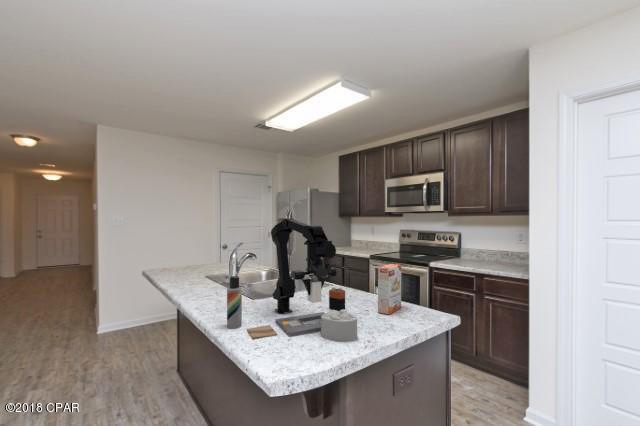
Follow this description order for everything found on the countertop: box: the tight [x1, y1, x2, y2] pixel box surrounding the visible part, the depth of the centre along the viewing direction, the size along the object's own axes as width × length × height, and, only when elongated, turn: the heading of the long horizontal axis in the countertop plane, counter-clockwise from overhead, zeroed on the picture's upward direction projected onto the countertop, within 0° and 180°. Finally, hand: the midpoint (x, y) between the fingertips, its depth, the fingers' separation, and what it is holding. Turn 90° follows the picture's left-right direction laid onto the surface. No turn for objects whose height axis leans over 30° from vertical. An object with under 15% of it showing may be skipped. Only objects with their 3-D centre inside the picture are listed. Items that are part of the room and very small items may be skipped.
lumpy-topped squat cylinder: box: [320, 308, 358, 343], centre depth 113 cm, size 10×13×9 cm
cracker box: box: [377, 263, 402, 316], centre depth 143 cm, size 14×6×21 cm, turn 143°
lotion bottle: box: [226, 275, 243, 329], centre depth 124 cm, size 6×6×20 cm
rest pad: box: [246, 324, 278, 340], centre depth 116 cm, size 10×9×1 cm
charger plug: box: [306, 276, 322, 304], centre depth 126 cm, size 5×4×10 cm
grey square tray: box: [274, 311, 326, 338], centre depth 124 cm, size 17×22×2 cm
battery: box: [328, 287, 346, 312], centre depth 146 cm, size 4×7×10 cm, turn 53°
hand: (314, 294), depth 126 cm, fingers closed on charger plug, 4 cm apart
